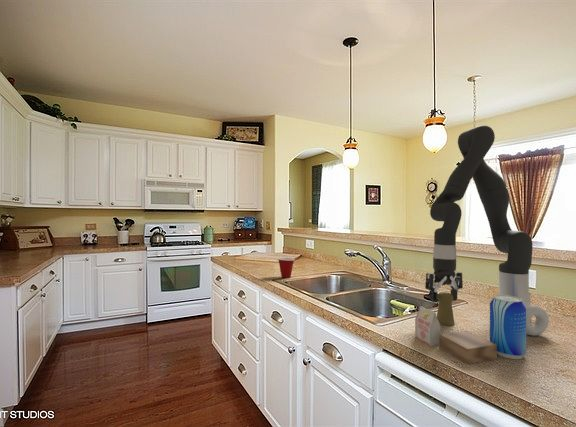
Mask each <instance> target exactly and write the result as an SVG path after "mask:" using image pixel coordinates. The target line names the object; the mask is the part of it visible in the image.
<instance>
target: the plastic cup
mask: <svg viewBox="0 0 576 427" xmlns="http://www.w3.org/2000/svg"><path fill="white" fill-rule="evenodd" d="M277 260H278V264H279V271H280V276H281V278H282V277H284V278H283V279H291V277H292V273H293V272H292V271H293V266H294V262H295V261H296V259H295V258H292V257H278V258H277Z"/></svg>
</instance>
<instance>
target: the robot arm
mask: <svg viewBox="0 0 576 427" xmlns="http://www.w3.org/2000/svg"><path fill="white" fill-rule="evenodd" d="M495 138H496V137H495V131H494V129H493V128H492V127H490V126H489V125H485V124H483V125H479V126H475V127H472V128H470V129H468V130H466V131H463V132H462V133H460V134H459V135H458V138H457V147H458V149H459V152H460V153H461V156H462V157H463V159H462V160H461V162H460V163H459V164H458V165H457V166H456V167H455V169H454V170H453V171H452V172H451V174H450V175H449V177H448V179H447V182H446V184H445V186H444V189H443V190H442V191H441V192H440V193H439V195H438V196H437V198H436V199H435V200H434V201H433V203H432V205H431V207H430V210H429V211H430V212H429V215H430V218H431V219H432V220H433V221H436V222H443V223H442V226H441V227H439V228H437V229H435V230H434V233H433V234H434V238H433V241H434V243H433V250H432V256H433V257H432V268H433V270H434V271H433V273H430V272H426V274H425V289H426V290H428V291H429V292H430V293H429V294H430V296H429V297H430V301H431V302H433V303H438V298H437V295H438V290H439V289H440V288H441V287H442V286H446V285H447V286H449V287H450V294H452V296H453V301H452V302H456V301H457V299H458V291H459V290H460V289H461V290H462V289H463V286H464V285H463V284H464V283H463V273H462V272H460V271H457V247H456V246H457V245H456V244H457V243H456V242H457V240H456V239H457V238H456V237H457V231H458V229H459V226H460V222H461V219H462V209H461V207H460V205H459V203H456V202H459V201H461V200H462V199H464V196H465V194H466V192H467V189H468V187H469V185H470V182H471V181H472V180H473V182H474V184H475V188H476V190H477V193H478V197H479V198H480V201H481V204H482V206H483V209H484V212H485V215H486V217H487V221H488V224H489V227H490V228H489V230H490V233H491V238H492V241H493V245H494V247H495V248H496V250H497V251H499V252H501V253H503V254H507V259H506V261H504V262H500V263H499V265H498V295H509V296H514V297H518V298H520V299H522V303H523V304H524V306H525V307H526V306H529V305H531V292H530V281H529V280H530V277H529V276H530V275H529V274H530V268H531V266H532V261H533V260H532V259H533V239H532V237H531V235H530V234H529V233H527V232H525V231H522V230H512V227H511V226H510V223H509V220H508V216H507V215H508V208H509V205H510V194H509V191H508V187H507V185H506V183H505V180H504V178H502V176H501V175H500V174H499V173H497V172H496V171H495V170H494V169H493V168H492V167H490V166H489V165H488V163H487V162H486V161H485V159H484V158H485V157H486V156H487V154H488V152H489V151H490V149H491V148H492V146H493V144H494V142H495Z"/></svg>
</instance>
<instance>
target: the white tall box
mask: <svg viewBox="0 0 576 427" xmlns="http://www.w3.org/2000/svg"><path fill="white" fill-rule="evenodd" d="M414 320H415V321H414V322H415V325H414V326H415V329H414V330H415V331H414V334H415V336H414V337H415V338H416V339H418V340H420V341H421V342H423V343H424V344H426V345H428V346H429V347H431V346H439V334H441V325H440V324H439V321H438V319H437V313H436V312H435V311H432V310H431V309H428V308H427V307H424V306H422V305H419V307H418V311H417V313H416V316H415V319H414Z"/></svg>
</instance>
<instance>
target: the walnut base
mask: <svg viewBox="0 0 576 427" xmlns="http://www.w3.org/2000/svg"><path fill="white" fill-rule="evenodd" d="M438 347H439V349H441V350H442V351H444V352H446V353H448V354H449V355H452V356H453V357H455V358H456V359H459V360H460V361H462V363H465V364H467V365H470V364H475V363H476V364H477V363H481V362H486V361H492V360H493V361H494V360H497V359H498V358H497V344H494V343H492V342H490V340H488V339H486V338H483V337H481V336H479V335H476V334H474V333H472V332H470V331H468V330H462V331H460V330H459V331H453V332H447V333H440V334H439V345H438Z"/></svg>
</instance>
